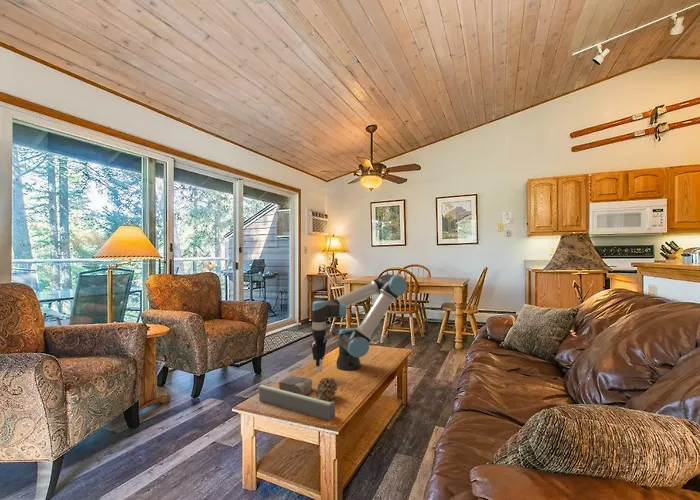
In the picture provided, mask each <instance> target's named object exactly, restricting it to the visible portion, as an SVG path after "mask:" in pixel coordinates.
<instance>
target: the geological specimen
mask: <svg viewBox="0 0 700 500" xmlns="http://www.w3.org/2000/svg"><path fill="white" fill-rule="evenodd" d="M278 389H280V390H284V391H288V392H292V393H296V394H300V395H304V396H307V395H308V394H309V393H311V391H312V389H313V379H311V378H307V377H303V376H302V377H301V376H297V375H292V376H290V377H288V378H284V379H283V380H280V381H279V382H278Z"/></svg>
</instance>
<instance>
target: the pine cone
mask: <svg viewBox="0 0 700 500" xmlns="http://www.w3.org/2000/svg"><path fill="white" fill-rule="evenodd" d="M318 382H319V383H318V384H317V386H316V388H315V389H314V393H315V395H314V396H315V398H316V399H319V400H323V401H327V402H330V400H332V399H333V396H335V395H336V394H337V390H338V386H339V384H338V383H339V382H338V381H337V380H336V379H335V377H323V379H321V380H319V381H318Z"/></svg>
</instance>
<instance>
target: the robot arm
mask: <svg viewBox="0 0 700 500" xmlns="http://www.w3.org/2000/svg"><path fill="white" fill-rule="evenodd" d="M407 287H408V284H407V281H406V279H405V278H404V277H403V276H402V275H399V274H391V273H389V274H388V273H387V274H384V275H381V276H379V277H377V278H375V279H373V280H371V281H370V283H367V284H365V285H363V286H361V287H358V288H357V289H354V290H351V291H350V292H347V293H345V294H343V295H340V296H337V297H336V298H333V299H331V300H330V299H329V300H315V301H313V302H312V310H311V311H312V321H311V322H312V323H311V325H312V327H311V328H312V330H311V331H312V334H311V335H312V337H313V339H312V340H313V341H312V342H313V343H310V348H311V352H312V358H313V360H314V361H315V372H318V373H322V372H323V369H322V367H323V360H324V357H325V354H326V347H327V346H326V345H327V343H328V340H327V339H325V337H326V335H327V333H326V332H327V331H326V330H327V329H326V328H327V326H326V325H327V323H326V321H327V319H331V318H333V319H334V318H345V317H346V316H347V314H348V308H347V307H350V306H352V305H354V304H356V303H358V302H361V301H363V300H365V299H367V298H369V297H371V296H373V295H377V296H378V297H377V298H376V300H375V301H374V302H373V304H372V305H371V307H370V309H369V311H368V312H367V314H366V315H365V316H364V318H363V320H362V321H361V323H360V324H359V326H358V327H354V328H353V327H350V328H341V329H339V330H338V356H337V360H336V363H335V367H336V368H337V369H339V370H342V371H354V370H358V369H360V368H361V367H362V363H361V359H360V358H363V357H365V356H366V355H367V353H368V352H369V349H370V342H371V341H372V335H373V333H374V331H375V330H376V328H377V326H378V325H379V324H380V322H381V320H382V319H383V317H384V316H385V314H386V312H387V311H388V309H389V307H390V306H391V304H392V303H393V302H396V301H397V300H398V298H399V297H400V296H402V295H404V294H405V293H406V291H407V290H408V289H407Z"/></svg>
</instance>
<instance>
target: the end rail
mask: <svg viewBox="0 0 700 500" xmlns="http://www.w3.org/2000/svg"><path fill="white" fill-rule="evenodd" d="M258 391H259V392H258V396H259V397H258V400H259V402H263V403H267V404H271V405H274V406H277V407H280V408H284V409H287V410H288V409H289V410H291V411H295V412H299V413H302V414H304V415H305V414H306V415H308V416H312V417H315V418H319V419H322V420H326V421H331V420H333V418H334V417H335V416H336V402H335V401H334V400H330V401H328V402H327V401H323V400H319V399H316V398H317V397H311V396H307V395H306V396H304V395H300V394H296V393H292V392H288V391H284V390H280V388H276V387H272V386H269V384H267V383H266V384H261V385H259V386H258Z"/></svg>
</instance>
